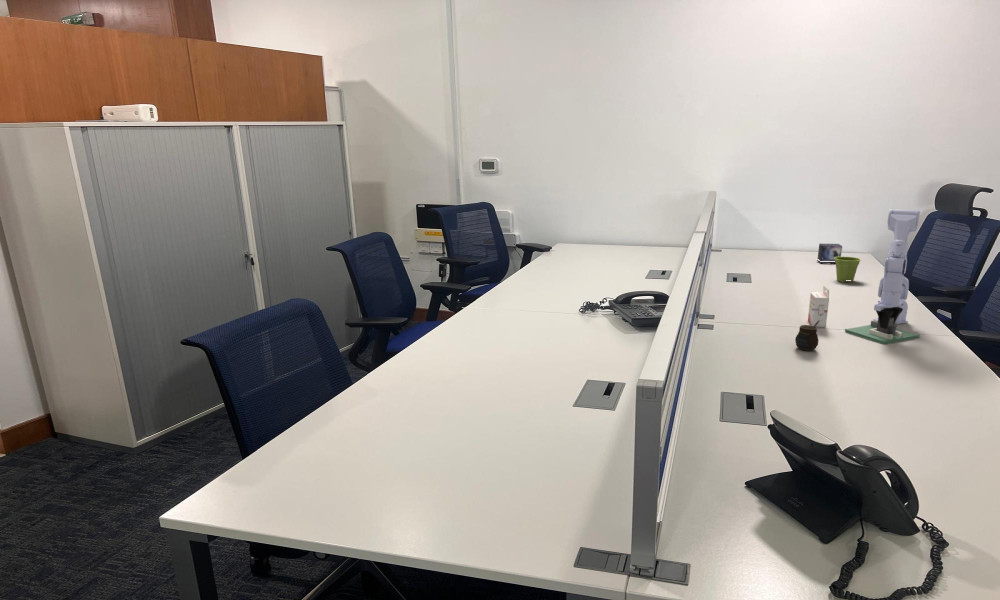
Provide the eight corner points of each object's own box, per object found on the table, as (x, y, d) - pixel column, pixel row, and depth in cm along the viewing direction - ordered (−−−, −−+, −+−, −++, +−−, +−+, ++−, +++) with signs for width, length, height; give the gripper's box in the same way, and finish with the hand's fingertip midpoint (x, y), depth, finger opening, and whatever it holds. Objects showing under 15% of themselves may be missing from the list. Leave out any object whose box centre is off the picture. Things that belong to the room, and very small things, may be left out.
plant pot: (859, 279, 321) (862, 257, 318) (857, 284, 312) (860, 261, 309) (832, 277, 328) (835, 255, 325) (830, 281, 318) (832, 259, 315)
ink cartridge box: (806, 320, 256) (810, 284, 252) (820, 321, 255) (824, 284, 251) (812, 326, 248) (816, 289, 244) (826, 327, 247) (830, 290, 243)
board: (878, 325, 248) (880, 317, 247) (919, 337, 233) (920, 328, 233) (844, 331, 241) (845, 323, 240) (884, 344, 227) (885, 335, 226)
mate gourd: (789, 347, 225) (792, 319, 223) (805, 344, 228) (808, 317, 226) (806, 353, 219) (809, 325, 216) (822, 350, 222) (826, 322, 219)
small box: (820, 263, 359) (822, 245, 357) (816, 261, 366) (818, 243, 363) (840, 264, 358) (842, 245, 355) (836, 261, 364) (838, 243, 361)
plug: (881, 330, 236) (883, 315, 235) (896, 334, 231) (898, 318, 230) (876, 332, 235) (878, 316, 234) (891, 336, 230) (893, 320, 229)
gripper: (893, 285, 236) (888, 321, 239) (868, 290, 230) (863, 327, 233) (913, 289, 230) (907, 326, 233) (887, 295, 224) (882, 332, 227)
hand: (886, 327), depth 233 cm, fingers closed on plug, 3 cm apart
